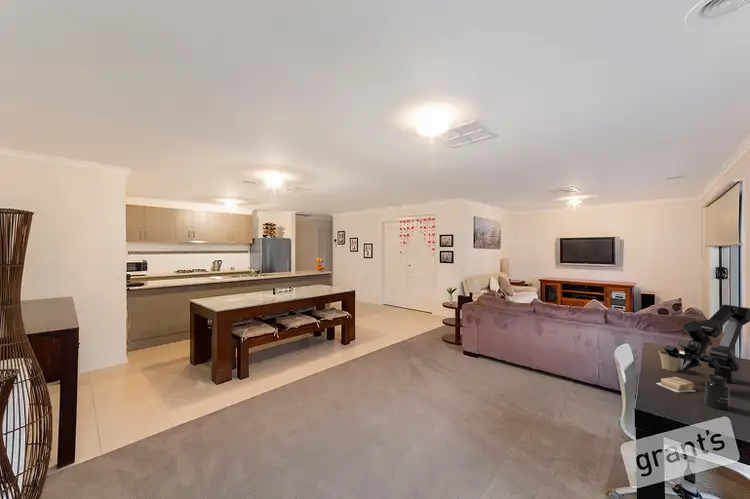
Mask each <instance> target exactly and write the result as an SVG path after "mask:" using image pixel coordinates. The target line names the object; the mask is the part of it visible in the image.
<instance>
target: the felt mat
mask: <svg viewBox="0 0 750 499" xmlns="http://www.w3.org/2000/svg"><path fill="white" fill-rule="evenodd" d="M655 384H656V385H658V386H659V387H660V386H661V387H663V388H665V389H668V390H669V391H673V392H675V393H691V392H693V393H694V392H697V391H696V389H694V388H693V389H686V390H680V391H679V390H676V389H673V388H670V387H667V386H665V385H662V384H661V382H655Z"/></svg>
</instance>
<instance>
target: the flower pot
mask: <svg viewBox="0 0 750 499" xmlns="http://www.w3.org/2000/svg"><path fill="white" fill-rule="evenodd" d="M658 353H659V356H660V362H661V369H663V370H666V371H668V372H678V371H679V369H680V368H679V367H680V364H681V360H680V358H674V357H671V356H669V355H668V354H667V352H666V351H665V350H658Z"/></svg>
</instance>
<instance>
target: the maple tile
mask: <svg viewBox="0 0 750 499" xmlns="http://www.w3.org/2000/svg"><path fill="white" fill-rule="evenodd" d="M660 383H661V384H662V385H665V386H667V387H670V388H673V389H676V390H679V391H680V390H686V389H693V390H694V388H695V383H694V382H692V381H689V380H687V379H684V378H681V377H677V376H671V377H664V378H663V377H662V378H660Z"/></svg>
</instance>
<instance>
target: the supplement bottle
mask: <svg viewBox="0 0 750 499" xmlns="http://www.w3.org/2000/svg"><path fill="white" fill-rule="evenodd" d="M727 384H728V383H727V382H726V378H724V377H721V376H717V375H714V374H709V375H708V380H707V381H705V383H704V404H706V405H707V406H709V407H711V408H714V409H717V410H722V411H727V410H729V409H730V394H731V393H730V391H731V388H730V387H729V386H728V385H727Z"/></svg>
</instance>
